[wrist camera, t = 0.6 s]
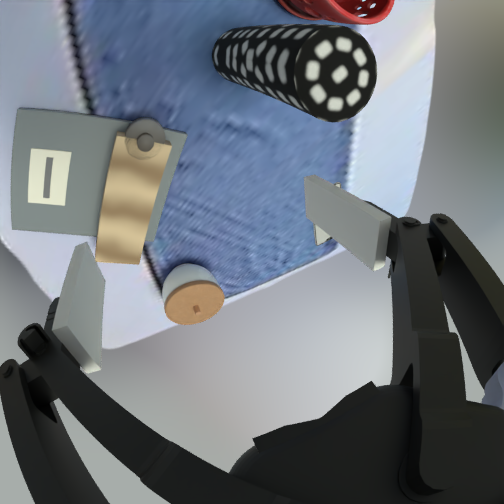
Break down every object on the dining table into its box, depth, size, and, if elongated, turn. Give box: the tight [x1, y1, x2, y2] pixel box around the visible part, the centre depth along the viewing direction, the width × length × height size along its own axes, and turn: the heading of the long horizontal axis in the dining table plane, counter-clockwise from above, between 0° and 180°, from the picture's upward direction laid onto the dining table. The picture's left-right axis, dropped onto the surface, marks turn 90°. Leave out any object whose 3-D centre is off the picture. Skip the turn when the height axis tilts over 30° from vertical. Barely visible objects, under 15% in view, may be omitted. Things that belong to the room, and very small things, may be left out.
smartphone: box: [313, 182, 341, 246], centre depth 59 cm, size 7×1×15 cm
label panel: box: [11, 108, 187, 242], centre depth 33 cm, size 18×24×2 cm
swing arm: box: [95, 117, 172, 265], centre depth 34 cm, size 22×7×3 cm, turn 154°
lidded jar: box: [162, 263, 224, 325], centre depth 50 cm, size 11×11×9 cm
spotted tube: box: [212, 24, 377, 122], centre depth 24 cm, size 8×8×20 cm
